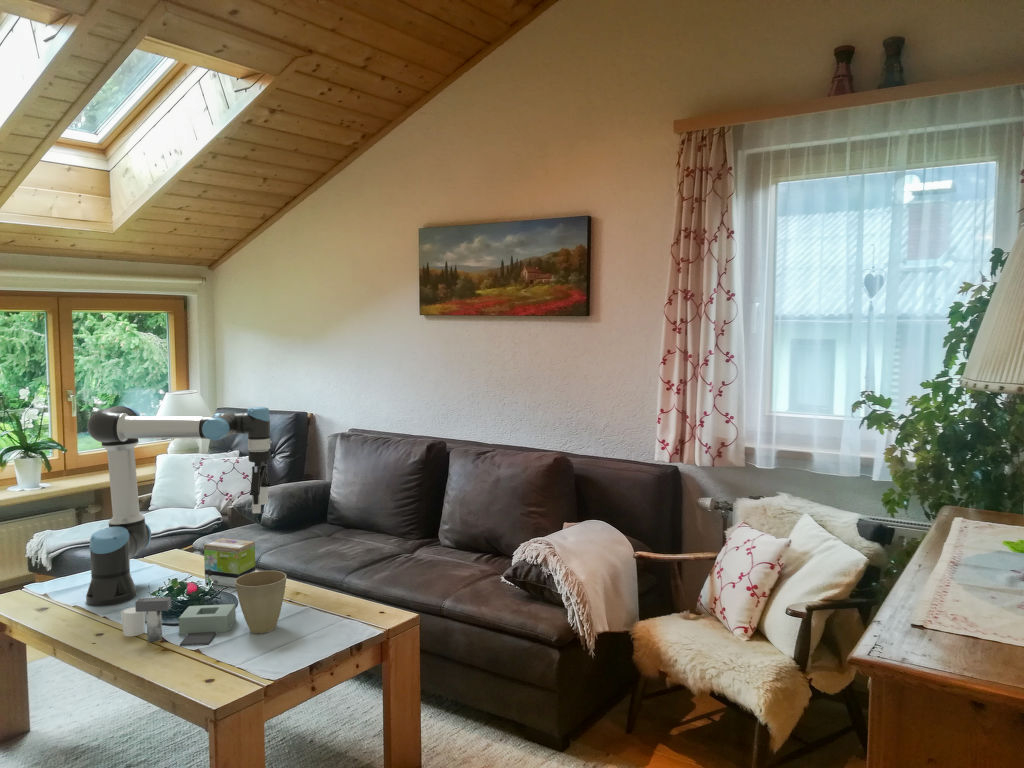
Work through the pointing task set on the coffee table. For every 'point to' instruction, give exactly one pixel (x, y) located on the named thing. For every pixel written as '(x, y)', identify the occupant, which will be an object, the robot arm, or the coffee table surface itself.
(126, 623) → the white cylinder
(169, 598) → the chuck key
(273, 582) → the plant pot
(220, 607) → the block
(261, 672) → the coffee table surface
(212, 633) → the rubber mat
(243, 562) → the tea box
